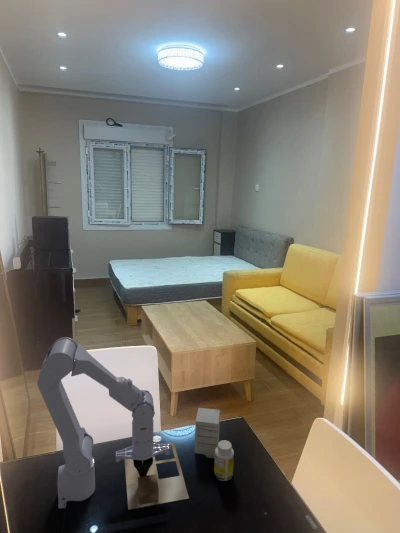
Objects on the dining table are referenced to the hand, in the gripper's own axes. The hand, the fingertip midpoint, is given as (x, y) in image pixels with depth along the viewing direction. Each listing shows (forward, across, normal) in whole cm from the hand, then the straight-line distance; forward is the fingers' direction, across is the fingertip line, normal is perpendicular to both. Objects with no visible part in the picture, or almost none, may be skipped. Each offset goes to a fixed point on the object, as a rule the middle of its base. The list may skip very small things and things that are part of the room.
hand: (142, 478), depth 101 cm
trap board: (+2, -4, -3) cm, 5 cm away
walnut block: (+1, -1, +5) cm, 5 cm away
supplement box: (+3, -21, -10) cm, 24 cm away
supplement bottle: (+3, -24, +1) cm, 24 cm away
